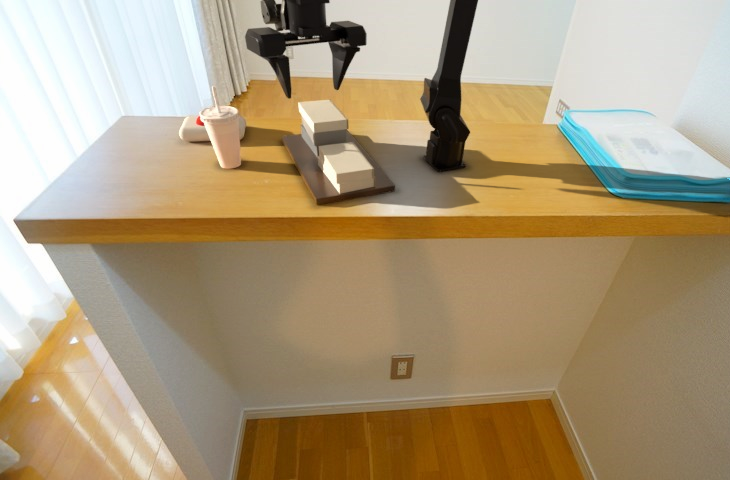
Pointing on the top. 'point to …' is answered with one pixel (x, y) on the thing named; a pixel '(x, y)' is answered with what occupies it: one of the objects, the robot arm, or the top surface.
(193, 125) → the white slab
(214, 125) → the smoothie
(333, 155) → the white book
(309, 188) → the walnut board
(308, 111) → the white book
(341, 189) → the white book
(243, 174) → the top surface
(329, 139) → the grey flat block
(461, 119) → the robot arm
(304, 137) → the gray rectangular block
